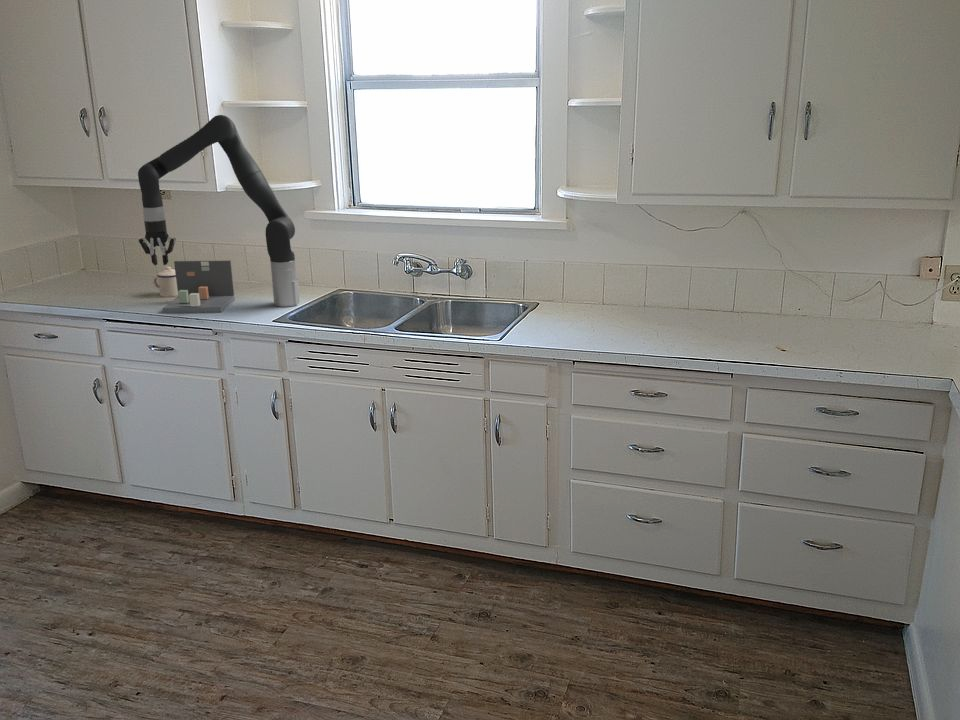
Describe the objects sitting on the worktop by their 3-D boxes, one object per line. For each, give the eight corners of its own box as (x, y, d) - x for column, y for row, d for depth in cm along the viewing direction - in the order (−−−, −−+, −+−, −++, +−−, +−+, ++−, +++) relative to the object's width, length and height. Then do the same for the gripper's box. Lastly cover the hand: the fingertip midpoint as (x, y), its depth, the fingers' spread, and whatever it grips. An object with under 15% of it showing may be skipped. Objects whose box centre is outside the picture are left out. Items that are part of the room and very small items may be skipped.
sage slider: (189, 301, 335) (187, 289, 333) (187, 302, 332) (185, 291, 331) (181, 301, 335) (180, 290, 333) (179, 303, 332) (177, 291, 331)
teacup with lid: (187, 292, 358) (184, 265, 355) (174, 298, 350) (171, 269, 346) (162, 291, 361) (158, 263, 358) (148, 296, 353) (145, 268, 350)
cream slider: (200, 304, 330) (199, 293, 328) (198, 306, 327) (197, 294, 326) (192, 304, 330) (191, 293, 328) (190, 306, 327) (189, 294, 326)
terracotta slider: (209, 297, 340) (207, 286, 339) (207, 299, 338) (205, 287, 336) (201, 297, 340) (200, 286, 339) (199, 299, 338) (198, 288, 336)
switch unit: (234, 300, 346) (230, 260, 341) (221, 312, 328) (216, 270, 323) (179, 300, 346) (174, 260, 341) (163, 313, 328) (157, 271, 323)
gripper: (176, 217, 327) (182, 262, 333) (139, 217, 327) (145, 262, 333) (170, 220, 320) (175, 266, 325) (131, 220, 320) (138, 266, 325)
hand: (160, 264), depth 329 cm, fingers open, 3 cm apart
